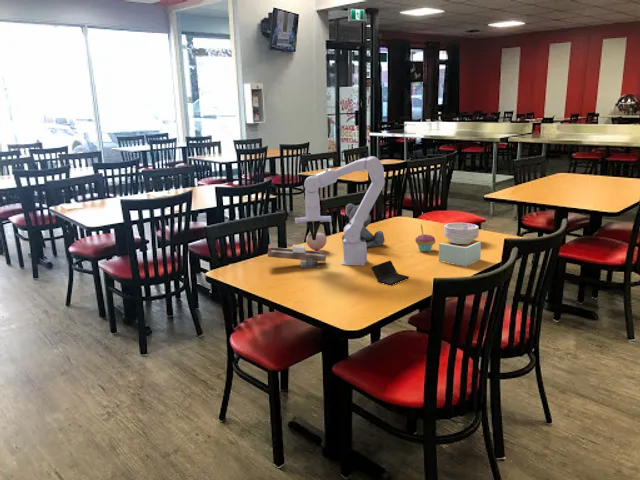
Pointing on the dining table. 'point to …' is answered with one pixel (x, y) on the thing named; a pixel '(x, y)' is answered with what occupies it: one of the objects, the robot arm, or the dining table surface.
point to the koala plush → (365, 234)
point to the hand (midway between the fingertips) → (314, 239)
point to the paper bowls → (461, 232)
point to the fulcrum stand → (309, 263)
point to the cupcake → (425, 241)
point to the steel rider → (298, 249)
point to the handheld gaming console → (387, 273)
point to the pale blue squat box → (460, 253)
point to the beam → (295, 254)
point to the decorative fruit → (316, 241)
